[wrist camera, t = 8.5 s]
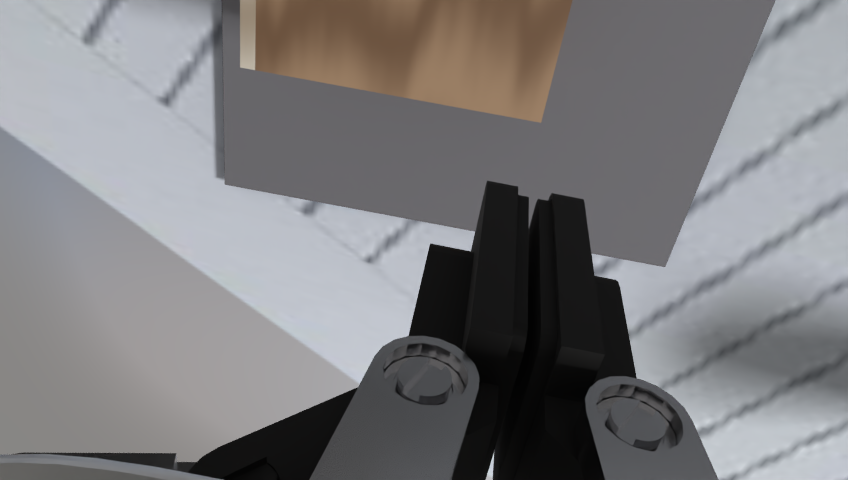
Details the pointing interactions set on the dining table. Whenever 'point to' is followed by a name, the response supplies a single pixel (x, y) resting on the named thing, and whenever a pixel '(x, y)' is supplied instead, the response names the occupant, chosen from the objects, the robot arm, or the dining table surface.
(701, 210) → the dining table surface
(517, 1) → the wooden box
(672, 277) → the dining table surface
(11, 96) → the dining table surface
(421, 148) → the rubber mat
